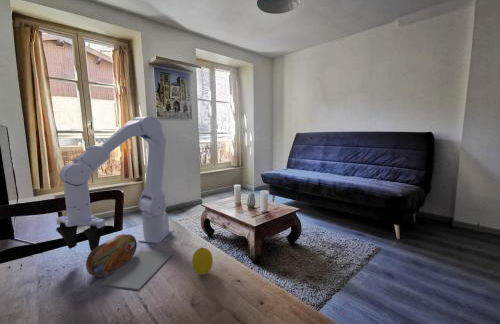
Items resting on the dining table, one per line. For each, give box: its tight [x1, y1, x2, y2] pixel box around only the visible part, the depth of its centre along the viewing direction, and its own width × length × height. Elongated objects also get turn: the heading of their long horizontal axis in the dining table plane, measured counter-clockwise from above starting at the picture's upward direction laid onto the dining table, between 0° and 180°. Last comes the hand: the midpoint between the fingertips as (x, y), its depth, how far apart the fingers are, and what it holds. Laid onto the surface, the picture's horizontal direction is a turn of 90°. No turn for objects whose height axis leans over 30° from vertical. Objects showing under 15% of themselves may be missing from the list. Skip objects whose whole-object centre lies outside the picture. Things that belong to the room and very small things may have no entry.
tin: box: [85, 233, 138, 278], centre depth 70 cm, size 15×3×8 cm, turn 160°
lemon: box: [191, 246, 214, 276], centre depth 66 cm, size 6×6×8 cm
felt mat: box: [100, 250, 173, 291], centre depth 70 cm, size 17×11×1 cm, turn 170°
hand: (83, 248), depth 72 cm, fingers open, 7 cm apart
